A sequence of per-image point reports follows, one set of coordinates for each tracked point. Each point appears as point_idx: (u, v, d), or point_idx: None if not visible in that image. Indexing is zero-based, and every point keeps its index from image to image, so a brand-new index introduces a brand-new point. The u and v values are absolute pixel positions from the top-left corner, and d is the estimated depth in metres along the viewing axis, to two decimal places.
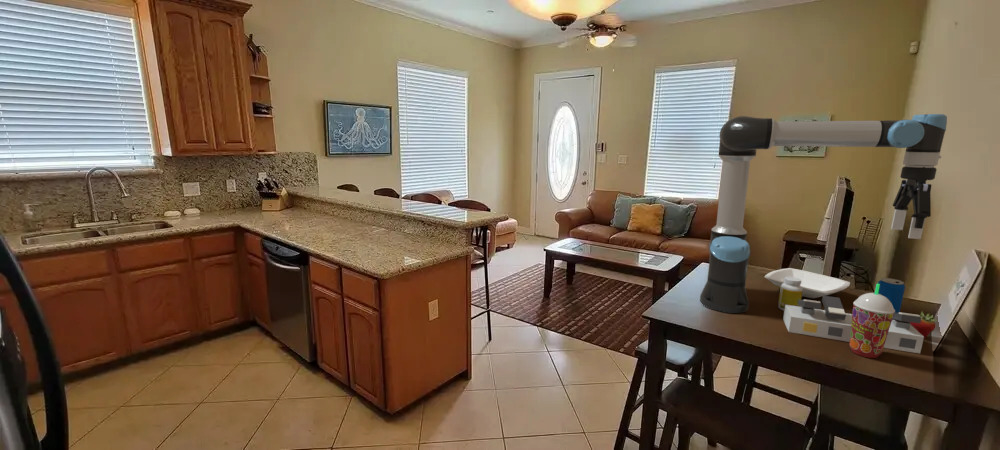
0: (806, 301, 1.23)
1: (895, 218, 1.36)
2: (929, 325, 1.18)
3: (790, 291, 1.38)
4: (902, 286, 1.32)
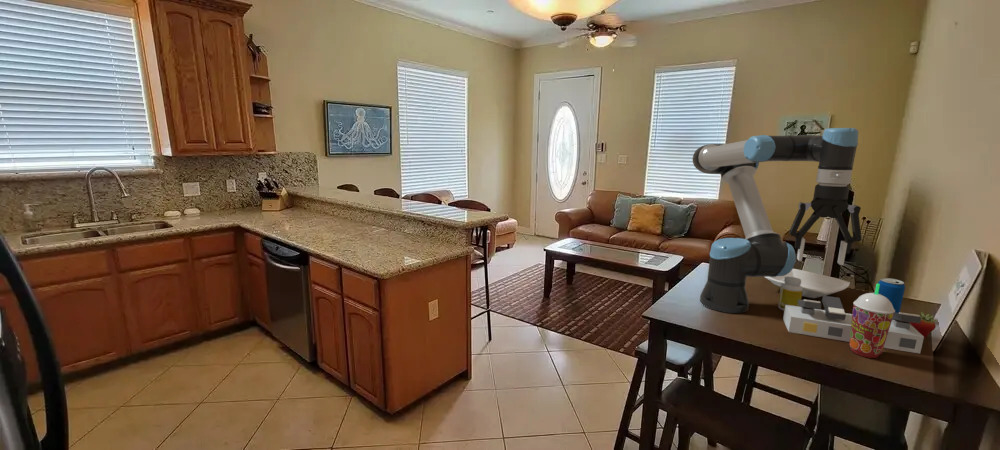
0: (806, 301, 1.23)
1: (839, 250, 1.18)
2: (929, 325, 1.18)
3: (790, 291, 1.38)
4: (902, 286, 1.32)
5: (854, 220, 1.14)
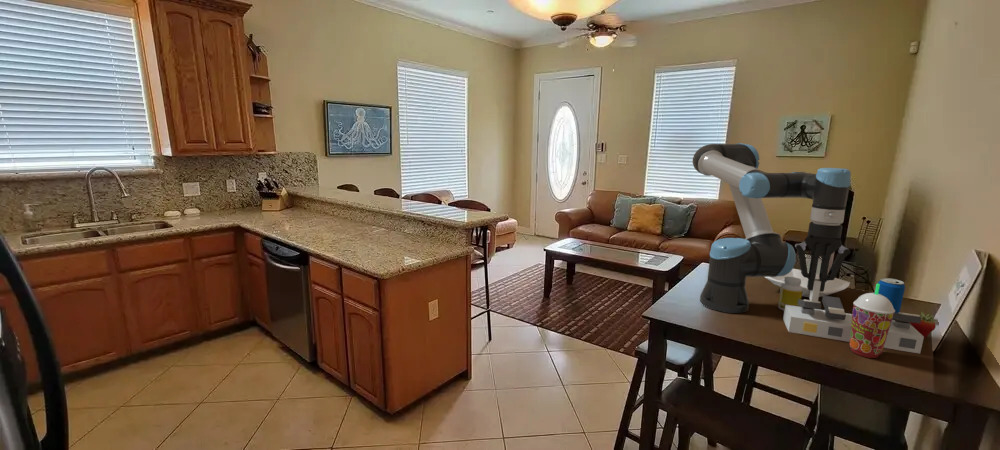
0: (806, 301, 1.23)
1: None
2: (929, 325, 1.18)
3: (790, 291, 1.38)
4: (902, 286, 1.32)
5: (838, 260, 1.17)
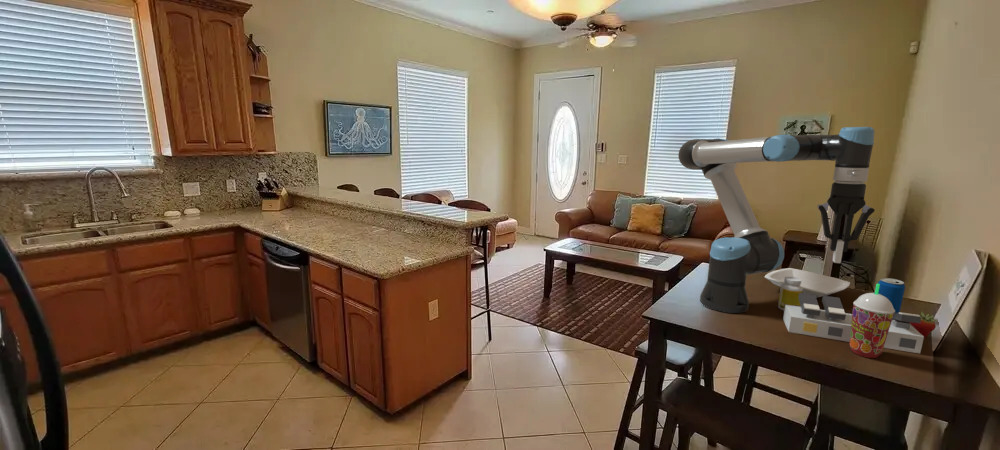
0: (805, 309, 1.23)
1: None
2: (929, 325, 1.18)
3: (790, 291, 1.38)
4: (902, 286, 1.32)
5: (862, 219, 1.17)
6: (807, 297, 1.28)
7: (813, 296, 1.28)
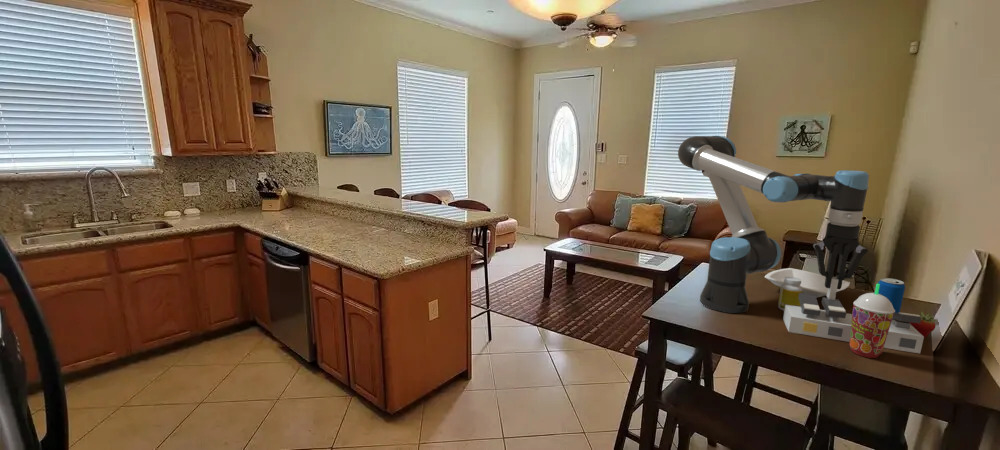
0: (805, 309, 1.23)
1: None
2: (929, 325, 1.18)
3: (790, 291, 1.38)
4: (902, 286, 1.32)
5: (855, 259, 1.22)
6: (807, 297, 1.28)
7: (813, 296, 1.28)
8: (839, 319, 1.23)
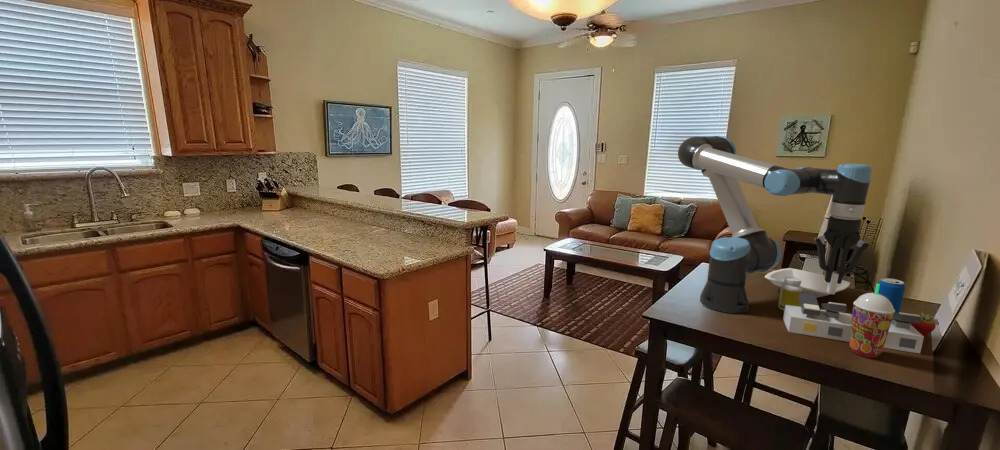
0: (805, 309, 1.23)
1: None
2: (929, 325, 1.18)
3: (790, 291, 1.38)
4: (902, 286, 1.32)
5: (856, 253, 1.21)
6: (807, 297, 1.28)
7: (813, 296, 1.28)
8: (839, 319, 1.23)
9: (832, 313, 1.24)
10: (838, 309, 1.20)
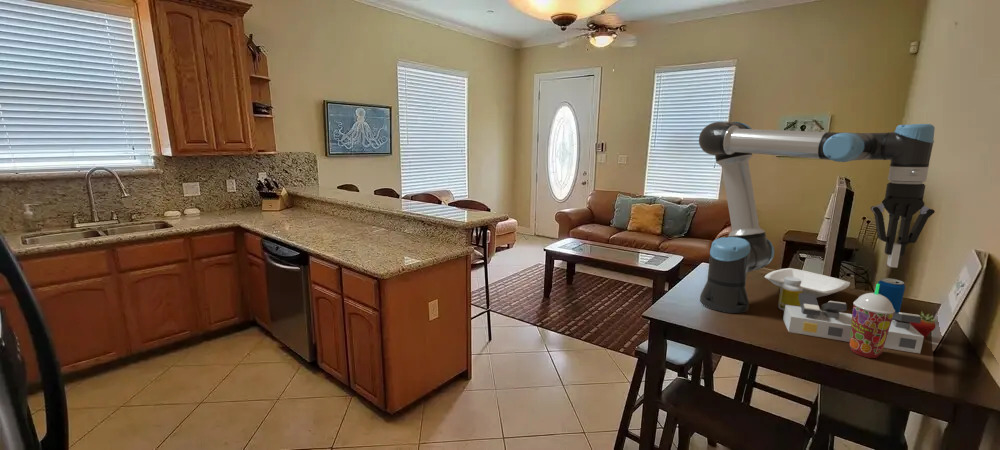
0: (805, 309, 1.23)
1: None
2: (929, 325, 1.18)
3: (790, 291, 1.38)
4: (902, 286, 1.32)
5: (920, 221, 1.11)
6: (807, 297, 1.28)
7: (813, 296, 1.28)
8: (839, 319, 1.23)
9: (832, 313, 1.24)
10: (838, 308, 1.20)
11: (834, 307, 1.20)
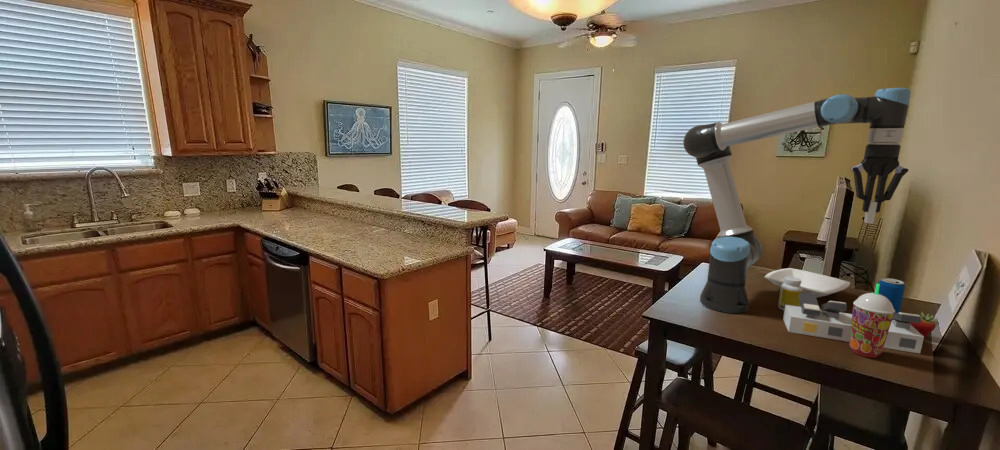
0: (805, 309, 1.23)
1: None
2: (929, 325, 1.18)
3: (790, 291, 1.38)
4: (902, 286, 1.32)
5: (895, 179, 1.20)
6: (807, 297, 1.28)
7: (813, 296, 1.28)
8: (839, 319, 1.23)
9: (832, 313, 1.24)
10: (838, 307, 1.20)
11: (834, 307, 1.20)
